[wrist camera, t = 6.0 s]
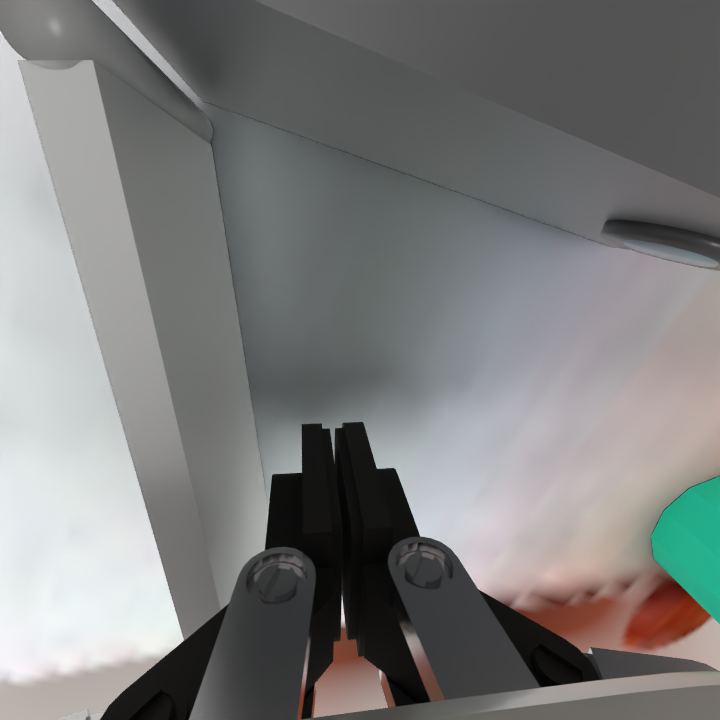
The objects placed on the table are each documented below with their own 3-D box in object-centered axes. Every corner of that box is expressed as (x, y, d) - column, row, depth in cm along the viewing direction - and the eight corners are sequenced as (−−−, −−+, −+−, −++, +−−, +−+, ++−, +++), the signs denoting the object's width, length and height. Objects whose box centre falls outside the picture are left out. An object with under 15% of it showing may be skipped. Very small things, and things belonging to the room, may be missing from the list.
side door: (270, 509, 16) (253, 728, 9) (231, 515, 16) (183, 742, 9) (209, 108, 11) (79, -39, 4) (150, 108, 11) (-75, -42, 4)
